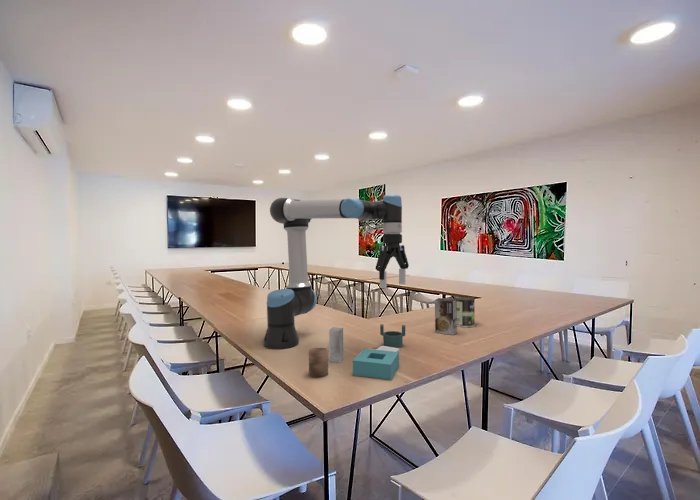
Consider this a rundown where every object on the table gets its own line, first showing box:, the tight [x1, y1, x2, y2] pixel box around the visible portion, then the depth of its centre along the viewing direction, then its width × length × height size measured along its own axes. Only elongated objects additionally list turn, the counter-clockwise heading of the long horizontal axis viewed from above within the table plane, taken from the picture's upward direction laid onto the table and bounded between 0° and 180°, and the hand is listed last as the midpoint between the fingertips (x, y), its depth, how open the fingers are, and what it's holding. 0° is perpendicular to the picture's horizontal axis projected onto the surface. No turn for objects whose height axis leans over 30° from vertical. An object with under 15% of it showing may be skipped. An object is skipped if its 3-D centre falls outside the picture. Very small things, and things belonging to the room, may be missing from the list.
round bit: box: [308, 347, 329, 379], centre depth 117 cm, size 6×6×8 cm
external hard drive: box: [375, 345, 401, 353], centre depth 137 cm, size 2×8×12 cm
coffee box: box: [434, 297, 458, 336], centre depth 166 cm, size 9×6×16 cm
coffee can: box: [453, 296, 476, 328], centre depth 181 cm, size 10×10×14 cm
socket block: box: [352, 348, 400, 381], centre depth 119 cm, size 13×13×5 cm
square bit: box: [328, 326, 345, 364], centre depth 130 cm, size 4×4×12 cm
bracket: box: [379, 324, 406, 349], centre depth 148 cm, size 9×9×9 cm
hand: (393, 286), depth 140 cm, fingers open, 13 cm apart
